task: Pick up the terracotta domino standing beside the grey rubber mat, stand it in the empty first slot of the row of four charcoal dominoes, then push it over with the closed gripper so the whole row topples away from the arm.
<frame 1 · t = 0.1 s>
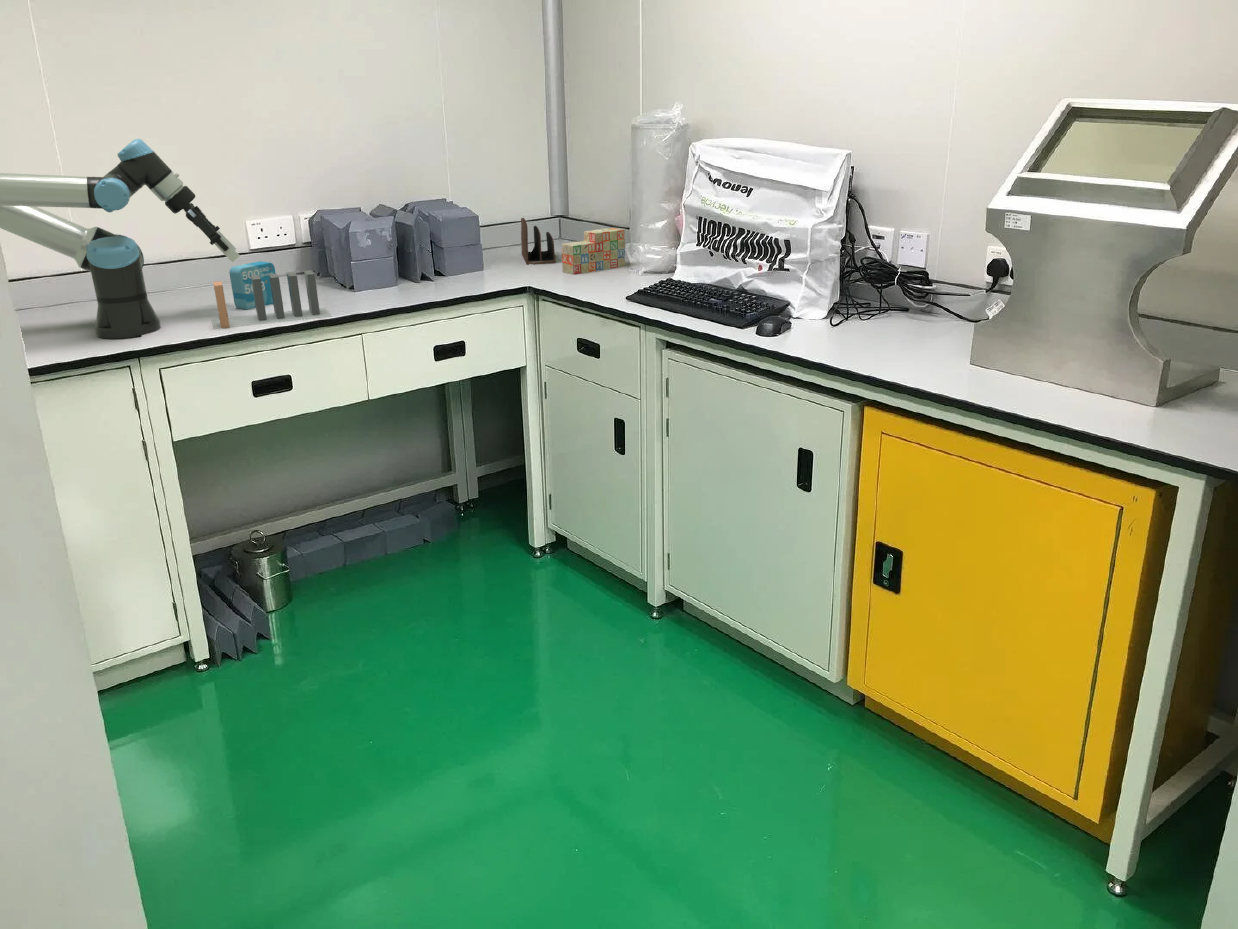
hand: (234, 255, 270), 15 cm above the lab bench, tool tilted 35°, fingers open, 13 cm apart
domino 2: (262, 318, 264), resting on mat
domino 4: (297, 314, 268), resting on mat
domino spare: (224, 325, 257), resting on mat
stack of blocks: (594, 270, 324), on the lab bench
domino 3: (279, 316, 266), resting on mat
domino 5: (314, 312, 269), resting on mat
letter holder: (538, 260, 343), on the lab bench
data package: (258, 307, 280), on the lab bench
mat: (271, 319, 265), on the lab bench
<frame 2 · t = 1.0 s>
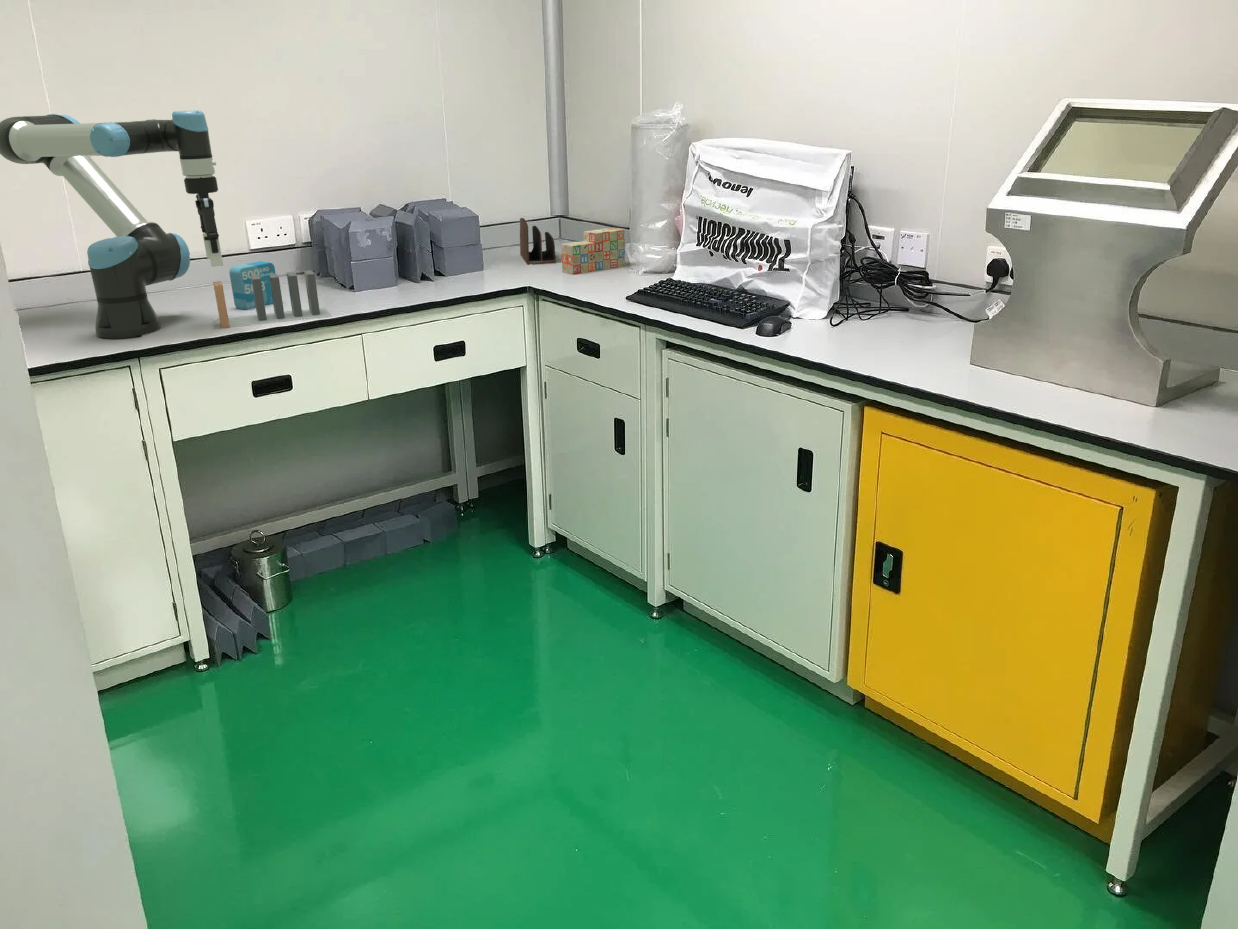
hand: (215, 262, 252), 17 cm above the lab bench, tool pointing down, fingers open, 13 cm apart
nothing on the lab bench moved.
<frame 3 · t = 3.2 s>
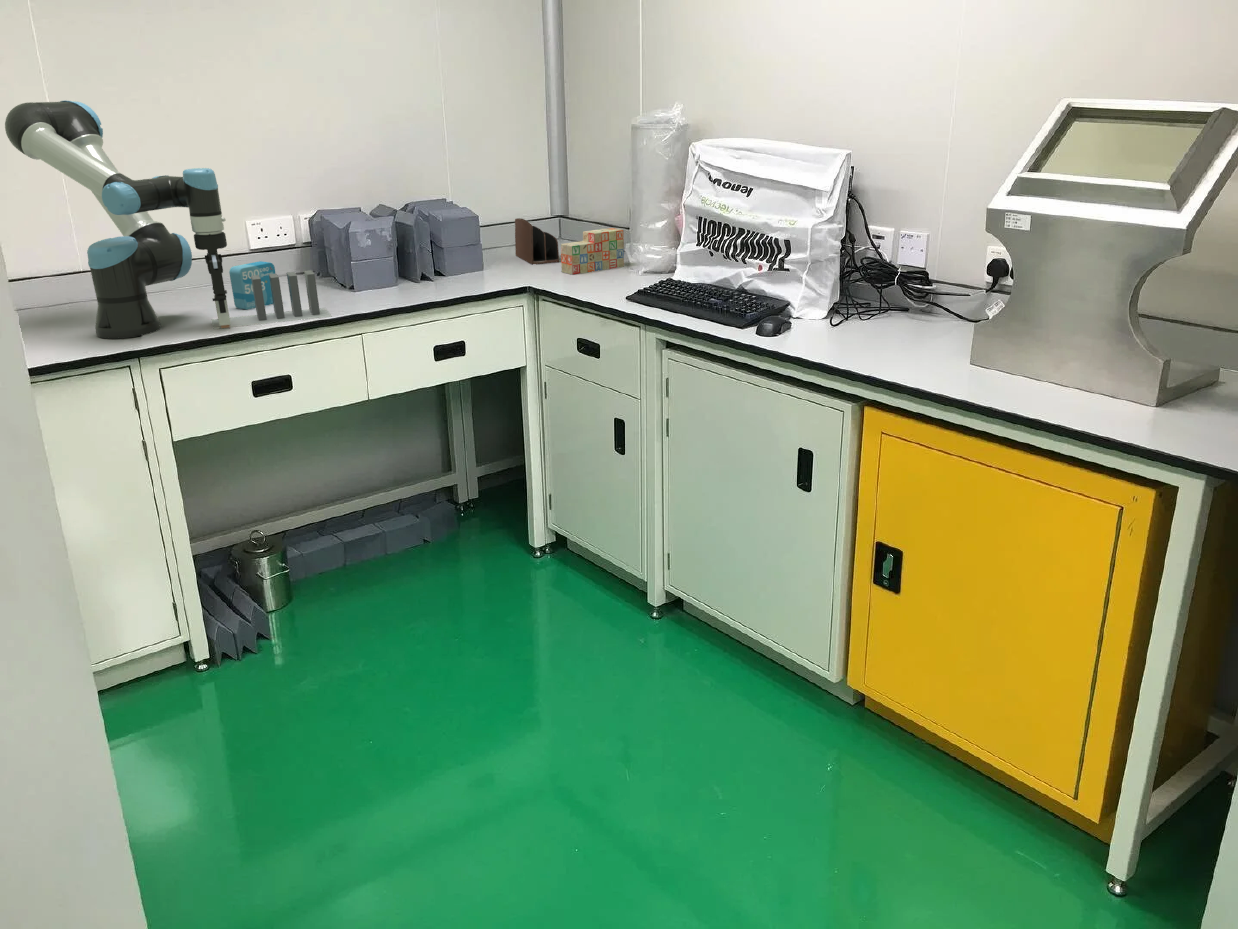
hand: (224, 321, 257), 1 cm above the lab bench, tool pointing down, fingers closed on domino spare, 6 cm apart
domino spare: (224, 325, 257), resting on mat, touching gripper
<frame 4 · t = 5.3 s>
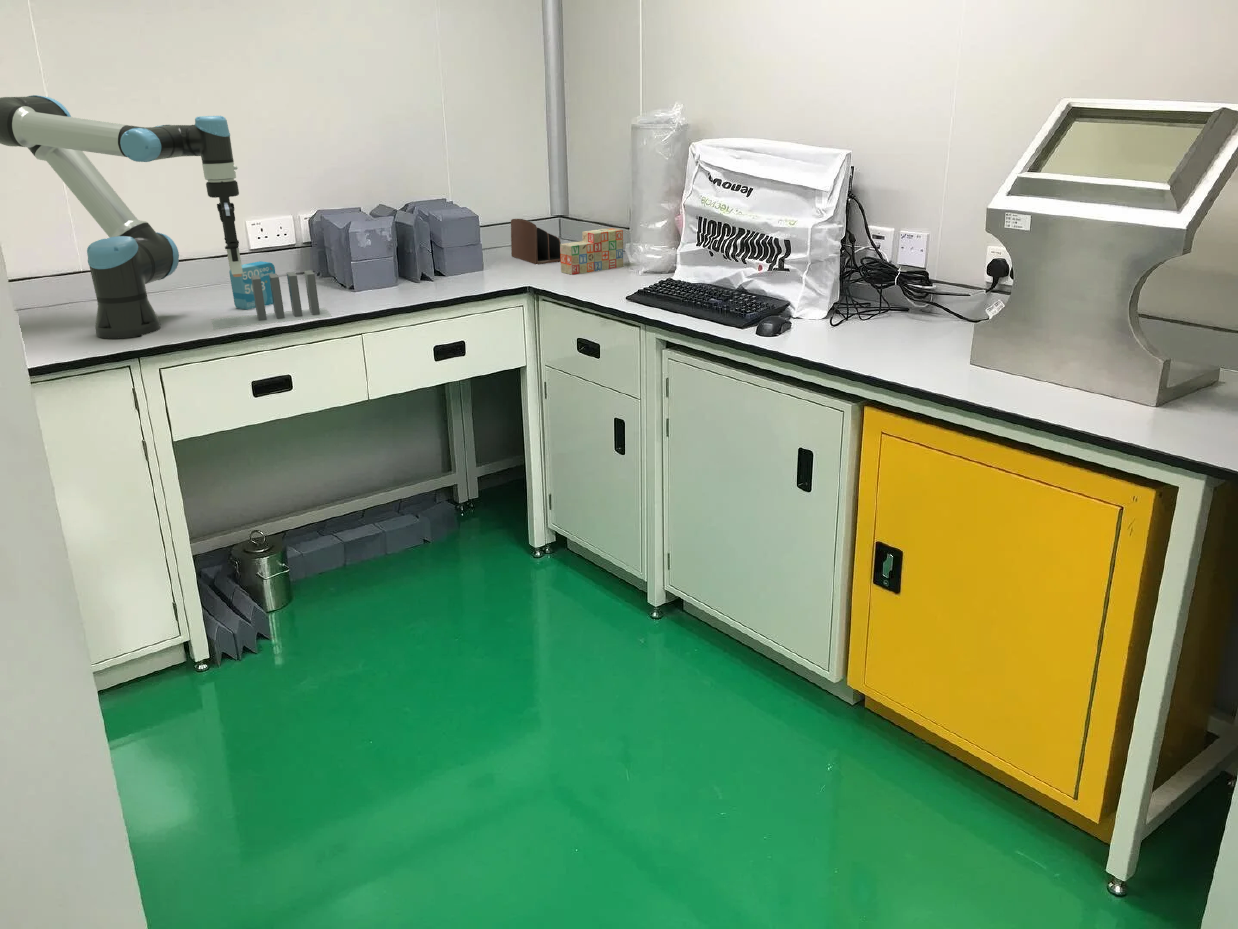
hand: (236, 271, 258), 13 cm above the lab bench, tool pointing down, fingers closed on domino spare, 6 cm apart
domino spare: (237, 274, 258), point 12 cm above the lab bench, touching gripper
when the fingers open (2 cm above the lab bench, at t = 7.5 s): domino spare stays where it is, resting on mat.
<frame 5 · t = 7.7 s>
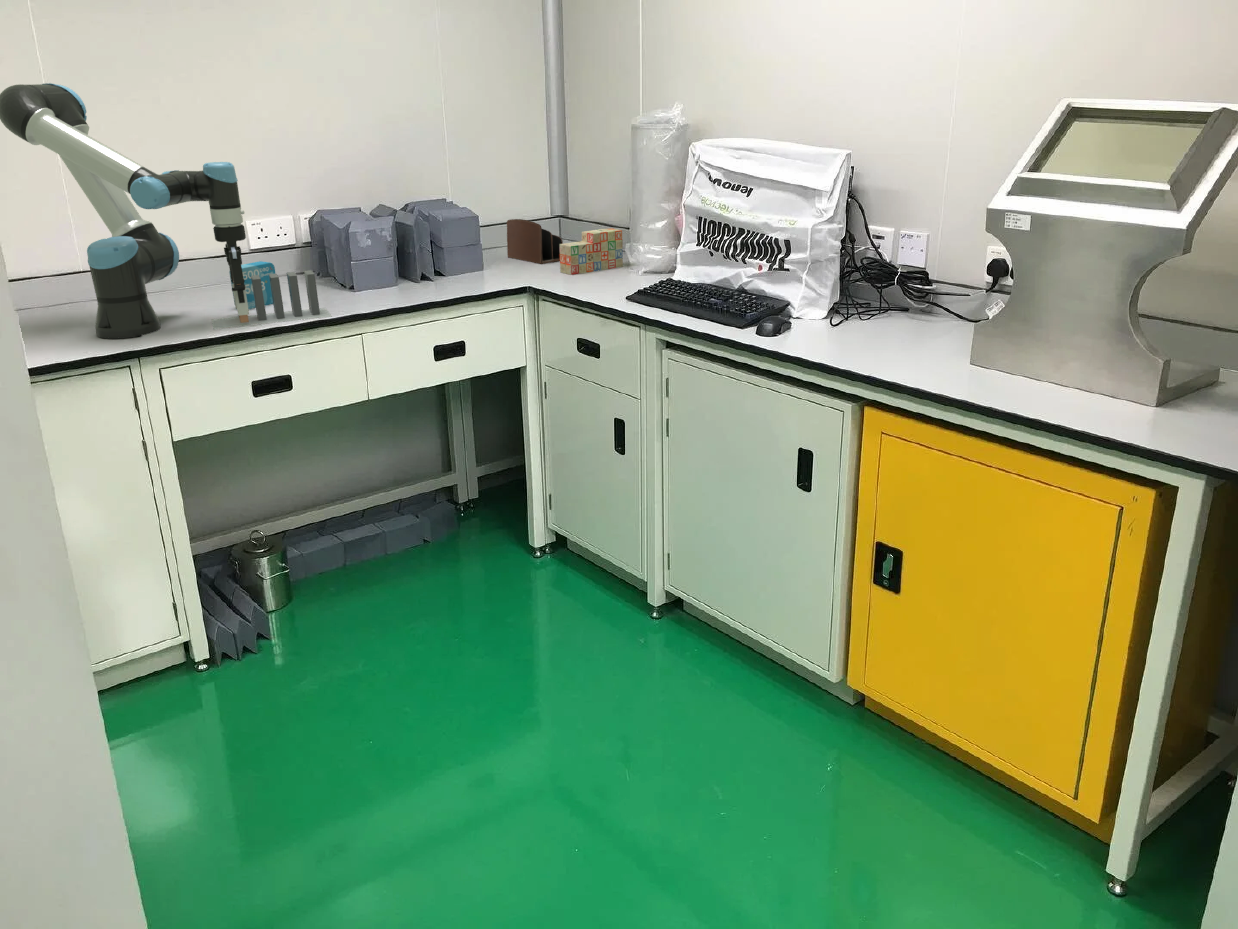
hand: (242, 311, 262), 3 cm above the lab bench, tool pointing down, fingers open, 9 cm apart
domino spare: (244, 319, 263), resting on mat
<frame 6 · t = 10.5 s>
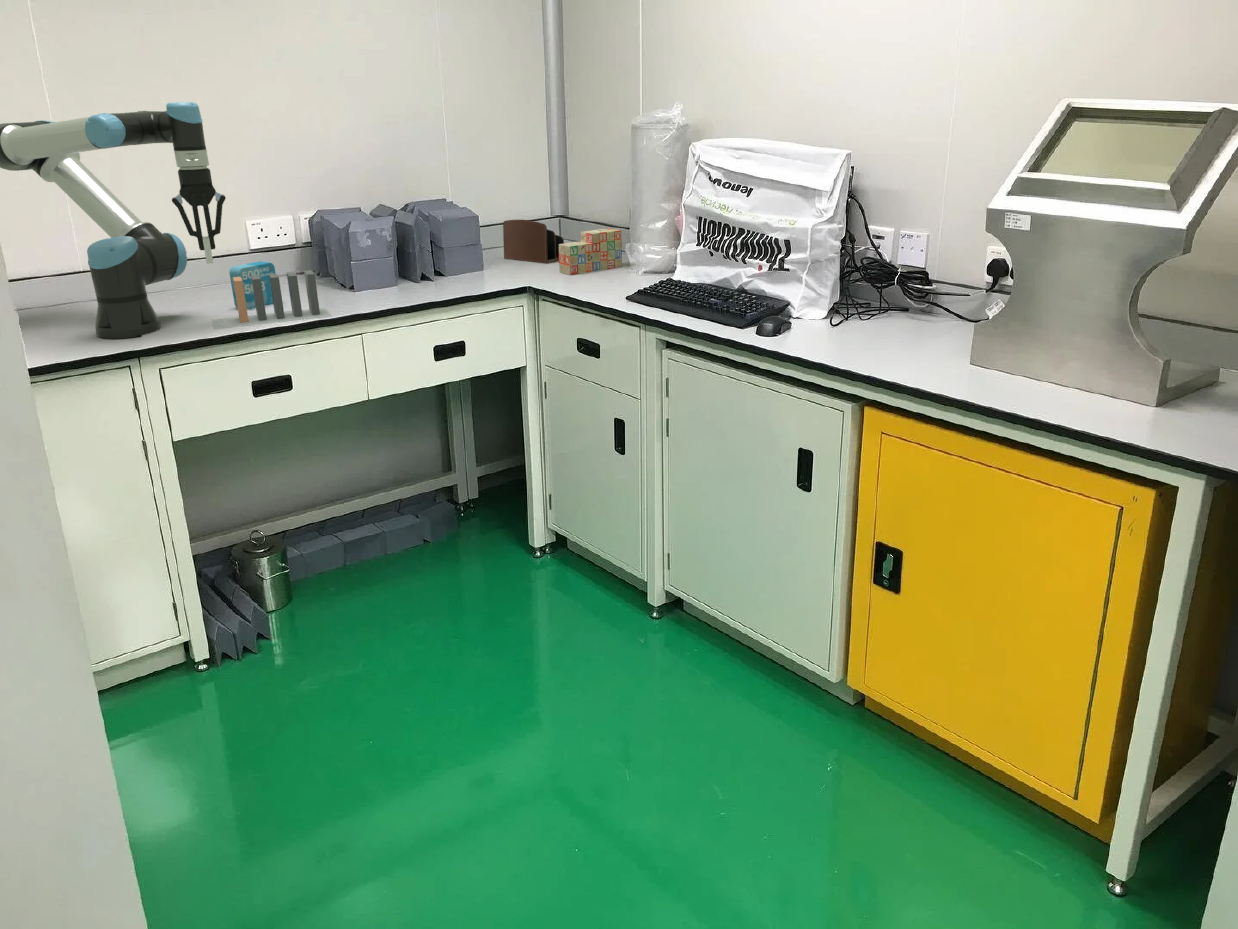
hand: (209, 262, 255), 16 cm above the lab bench, tool pointing down, fingers closed
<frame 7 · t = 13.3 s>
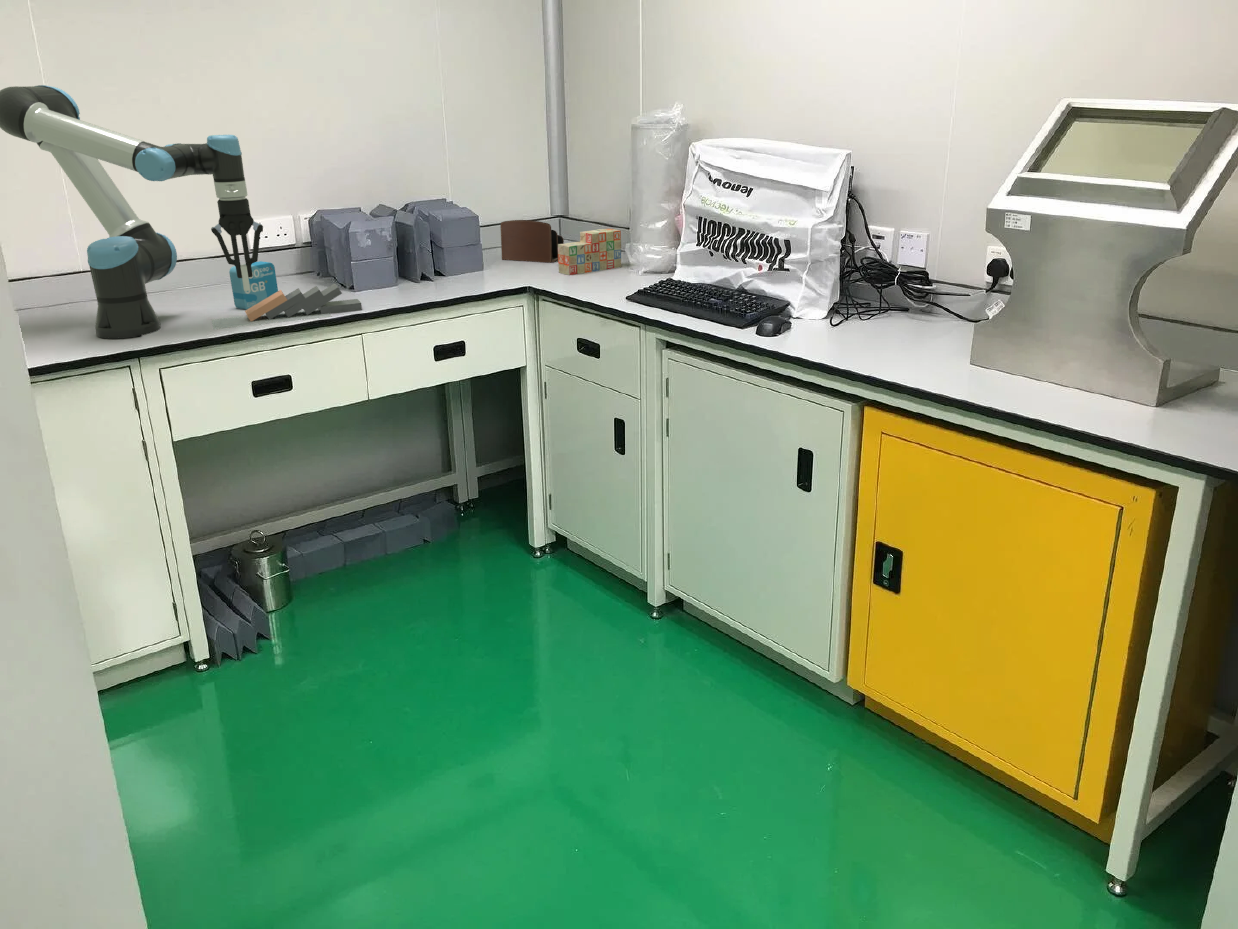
hand: (247, 289, 260), 8 cm above the lab bench, tool pointing down, fingers closed
domino 2: (266, 314, 264), point 1 cm above the lab bench, tilted 65°, touching domino 3, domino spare, mat
domino 4: (303, 309, 268), point 2 cm above the lab bench, tilted 64°, touching domino 3, domino 5
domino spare: (248, 316, 263), point 1 cm above the lab bench, tilted 65°, touching domino 2
domino 3: (285, 312, 266), point 1 cm above the lab bench, tilted 64°, touching domino 2, domino 4, mat
domino 5: (319, 308, 269), point 1 cm above the lab bench, tilted 90°, touching domino 4, mat
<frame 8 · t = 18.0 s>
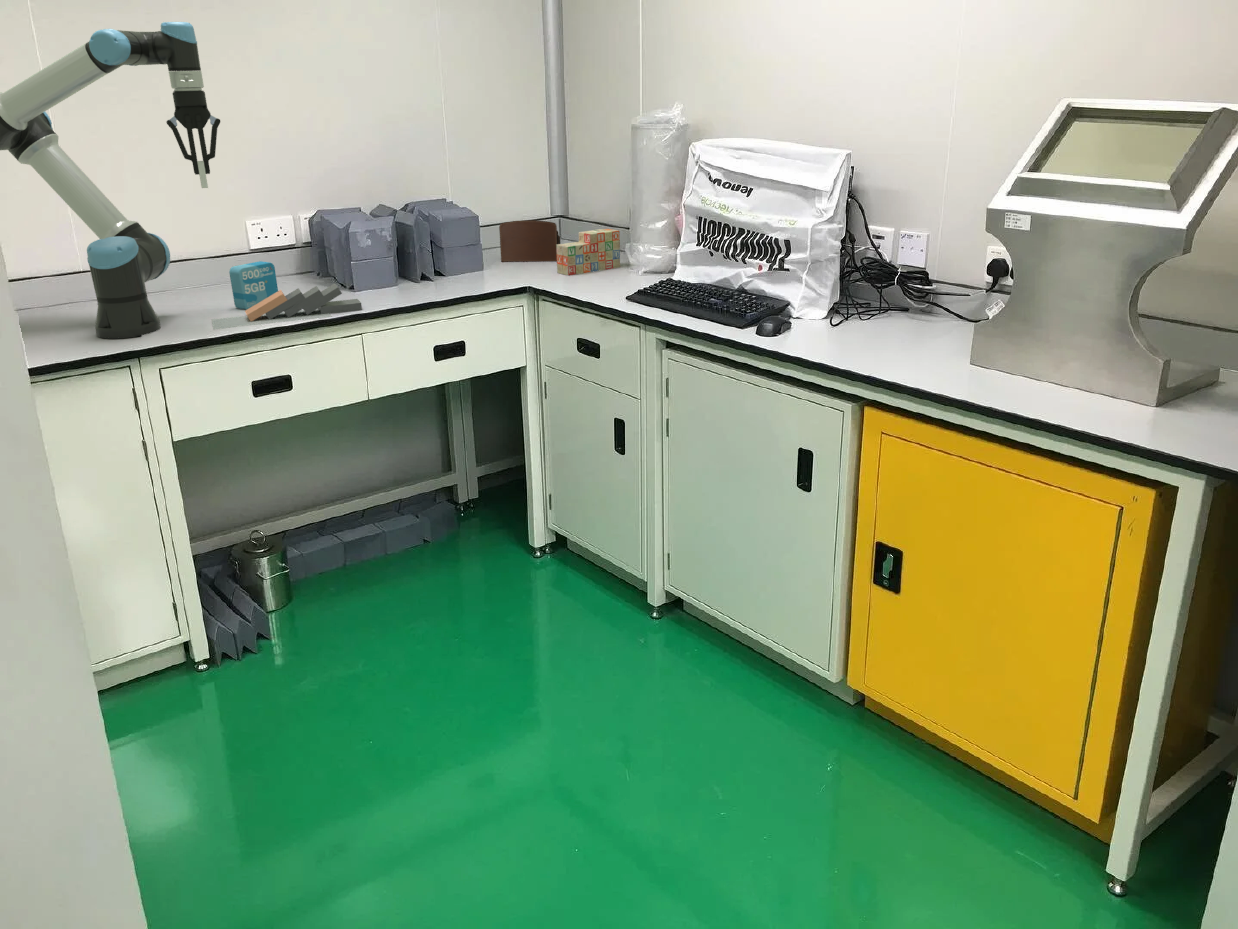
hand: (204, 187, 254), 34 cm above the lab bench, tool pointing down, fingers closed
at the end: domino 5 tilted 90°; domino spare tilted 65°; the gripper is holding nothing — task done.
